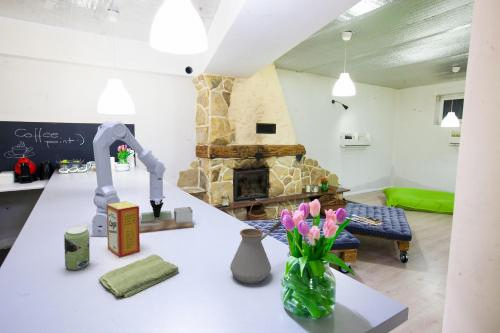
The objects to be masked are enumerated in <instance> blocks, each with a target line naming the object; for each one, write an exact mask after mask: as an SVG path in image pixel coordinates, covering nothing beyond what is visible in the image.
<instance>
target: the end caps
mask: <svg viewBox="0 0 500 333" xmlns="http://www.w3.org/2000/svg"><path fill="white" fill-rule="evenodd" d="M173 211H174V212H173V219H174V221H176V225H179V224H189V223H193V215H194V214H193V211H194V210H193V209H192V207H191V206H186V207H174V208H173ZM159 226H160V222H159V219H152V220H142V216H139V228H149V227H159Z"/></svg>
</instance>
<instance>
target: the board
mask: <svg viewBox="0 0 500 333" xmlns="http://www.w3.org/2000/svg"><path fill="white" fill-rule="evenodd" d="M159 222H160V226H159V227H149V228H139V234H144V233H145V234H146V233H153V232H154V233H155V232H164V231H173V230H182V229H191V228H195V225H194V223H193V222H192V223H189V224H179V225H176V221H174V218H171V219H167V220H159Z"/></svg>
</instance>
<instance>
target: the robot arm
mask: <svg viewBox="0 0 500 333" xmlns="http://www.w3.org/2000/svg"><path fill="white" fill-rule="evenodd" d="M117 140H118V141H122V142H124V143H126V144H127V146H129V148H130V149H132V150H133V151H134V152H135V153H136V154H137V155H136V156H137V159H138V160H139V161H140V162H141V163H142V164H143V165H144V166H145V167H146V171H147V172H148V173H149V204H150V206H151V208H152V212H153V213H154V217H155V218H156V217H160V212H162V207H163V205H164V202H163V199H166V196H165V195H164V187H163V186H164V183H163V182H164V181H163V180H164V173H165V172H166V167H165V164H164V162H163V163H162V162H161V161H159V159H158V157H155V155H154V154H153V151H152V150H151V149H150V150H149V149H148V148H144V147H143V146H142V145H141V144H140V142H139V141H138V140H137V139H136V138H135V136H134V135H133V133H131V131H130V129H129V128H128V127H127V126H126V125H125V123H123V122H122V121H113V122H111V121H110V122H109V121H105V122H103V123H101V125H99V126H98V127H97V132H96V134H95V135H94V138H93V141H92V145H93V146H92V148H93V156H94V163H95V164H94V165H95V174H96V175H95V177H96V185H97V187H96V188H95V190H94V197H93V205H95V206H96V208H95V209H96V214H95V215H94V216H93V218H92V219H91V226H92V233H91V234H89V237H108V234H107V204H112V203H118V202H121V200H120V197H118V194H117V190H116V187H114V184H113V183H114V182H113V174H112V173H113V172H112V163H111V154H110V146H111V145H112V144H113V143H115V141H117Z"/></svg>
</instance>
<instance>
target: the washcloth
mask: <svg viewBox="0 0 500 333" xmlns="http://www.w3.org/2000/svg"><path fill="white" fill-rule="evenodd" d="M179 271H180V270H179V266H177V265H175V264H174V263H171V262H169V261H165V260H164V258H162V257H161V256H159V255H157V254H151V255H148V256H147V257H145V258H141V259H138V260H136V261H134V262H130V263H129V264H127V265H124V266H121V267H119V268H115V269H112V270H109V271H108V272H106V273H104V274H103V275H102V276H99V278H98V281H99V282H100V283H102V284H103V286H104V287H105V288H106V289H107V290H108V291H109V292H111V293H113V294H114V296H115V297H119V296H120V297H121V296H122V297H123V298H124V299H127V298H130V297H132V296H133V295H136V294H138V293H140V292H143V291H144V290H146V289H149V288H150V287H153V286H155V285H157V284H158V283H161V282H163V281H165V280H166V279H169V278H172V277H173V276H175V275H176V274H177V273H178V272H179Z"/></svg>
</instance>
